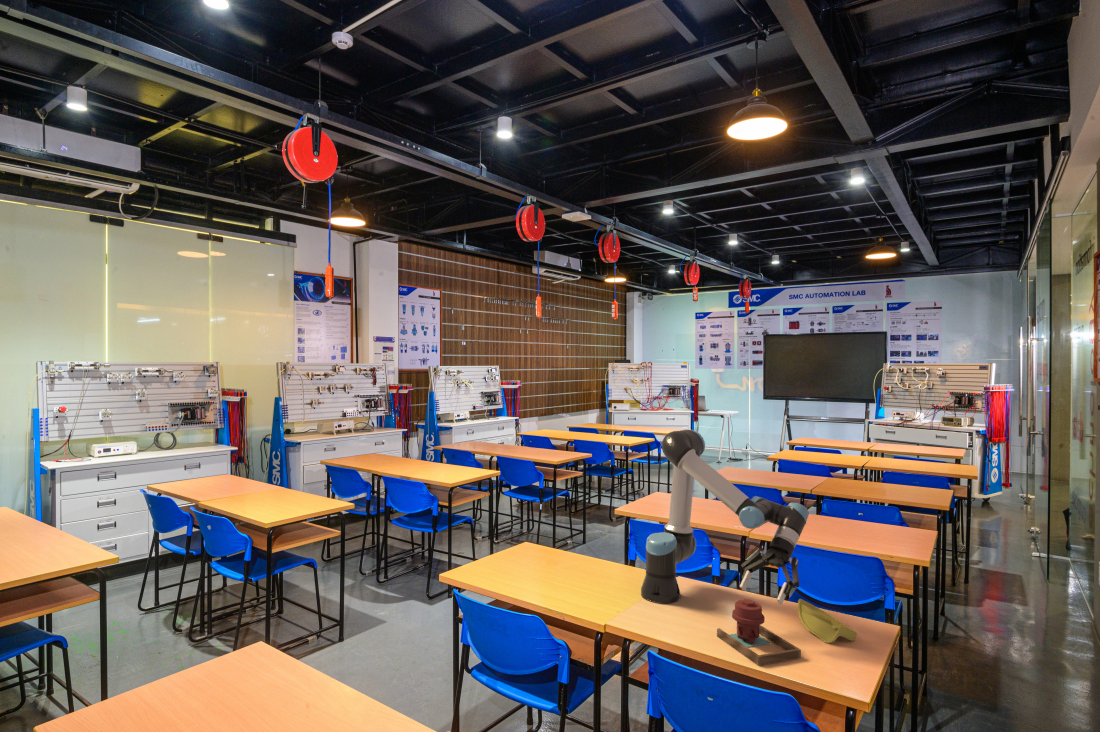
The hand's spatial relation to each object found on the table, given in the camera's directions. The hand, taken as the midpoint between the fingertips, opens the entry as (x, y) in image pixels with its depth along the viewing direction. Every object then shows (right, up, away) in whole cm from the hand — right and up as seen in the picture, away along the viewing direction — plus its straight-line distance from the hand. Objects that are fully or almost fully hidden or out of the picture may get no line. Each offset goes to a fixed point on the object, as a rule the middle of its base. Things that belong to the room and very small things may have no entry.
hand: (760, 595), depth 185 cm
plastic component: (+24, -14, +4) cm, 28 cm away
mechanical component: (-6, -13, -4) cm, 15 cm away
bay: (-4, -13, -9) cm, 16 cm away
